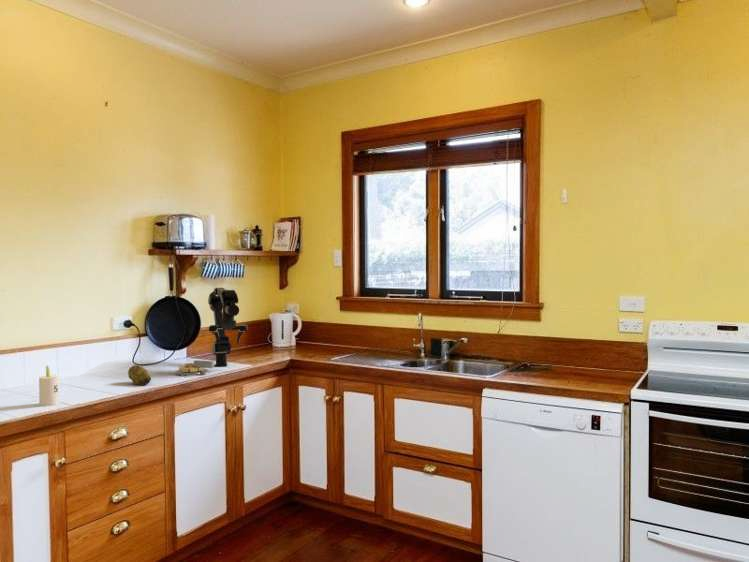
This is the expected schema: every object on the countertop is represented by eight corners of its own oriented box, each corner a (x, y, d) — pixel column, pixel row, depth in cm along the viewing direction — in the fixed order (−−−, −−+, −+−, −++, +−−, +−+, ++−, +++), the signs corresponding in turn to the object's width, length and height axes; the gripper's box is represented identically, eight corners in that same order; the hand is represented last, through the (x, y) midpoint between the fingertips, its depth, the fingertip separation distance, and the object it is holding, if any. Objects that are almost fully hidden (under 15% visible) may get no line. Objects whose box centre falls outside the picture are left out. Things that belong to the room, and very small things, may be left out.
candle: (50, 406, 216) (50, 367, 215) (35, 405, 217) (35, 366, 217) (62, 402, 222) (62, 364, 222) (47, 401, 223) (47, 363, 223)
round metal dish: (178, 370, 289) (178, 365, 289) (208, 369, 291) (208, 364, 291) (172, 376, 274) (172, 370, 274) (204, 375, 276) (204, 369, 276)
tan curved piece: (174, 371, 278) (174, 361, 278) (187, 367, 289) (187, 358, 289) (206, 373, 274) (206, 363, 274) (218, 369, 285) (218, 359, 285)
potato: (132, 387, 250) (132, 369, 249) (126, 382, 260) (126, 364, 260) (152, 385, 254) (152, 367, 254) (145, 380, 265) (145, 363, 265)
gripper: (207, 316, 280) (207, 347, 281) (246, 315, 284) (246, 346, 284) (210, 314, 291) (210, 344, 292) (247, 313, 294) (247, 343, 295)
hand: (228, 344), depth 290 cm, fingers open, 9 cm apart
